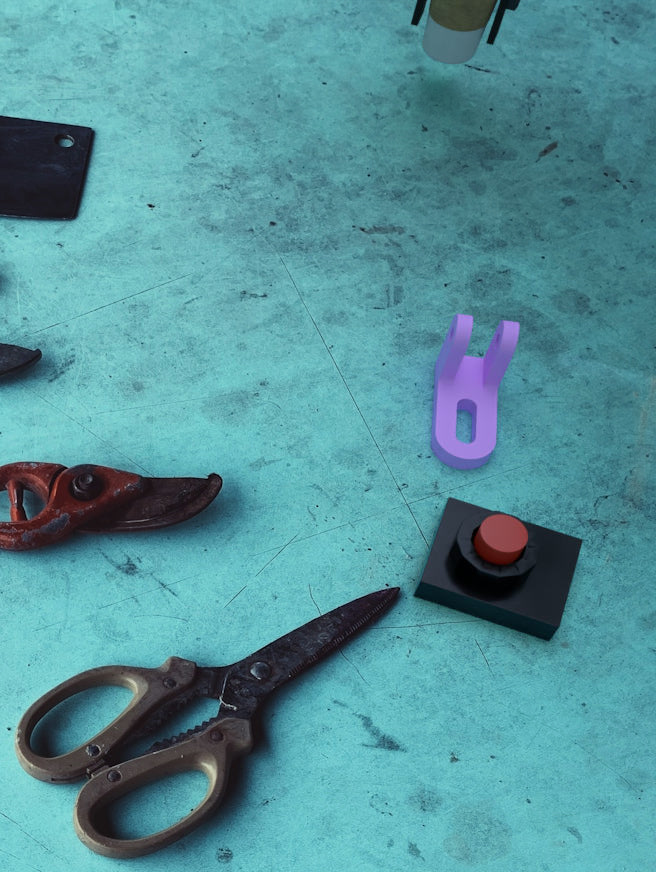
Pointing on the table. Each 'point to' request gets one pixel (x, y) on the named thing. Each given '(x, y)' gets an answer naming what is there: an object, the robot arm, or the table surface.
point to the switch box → (499, 573)
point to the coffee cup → (455, 29)
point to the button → (500, 539)
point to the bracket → (469, 392)
